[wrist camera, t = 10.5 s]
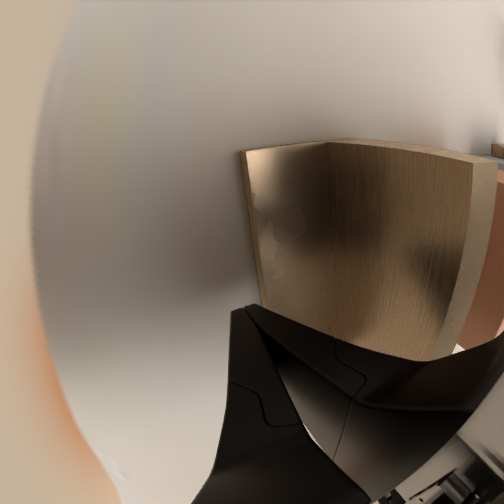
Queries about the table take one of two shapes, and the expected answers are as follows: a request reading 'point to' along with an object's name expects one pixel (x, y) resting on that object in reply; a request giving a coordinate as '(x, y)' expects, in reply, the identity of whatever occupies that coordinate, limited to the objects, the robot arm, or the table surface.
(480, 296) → the rust book
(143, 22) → the table surface
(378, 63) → the table surface
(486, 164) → the bookend slide
